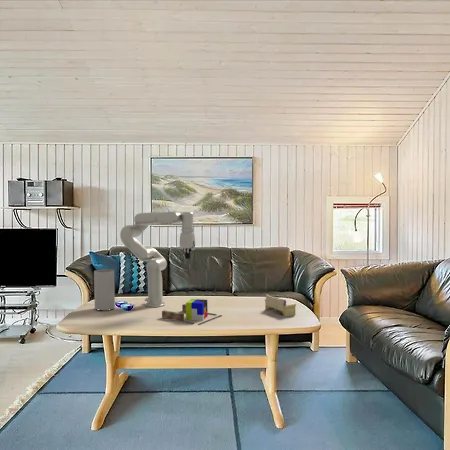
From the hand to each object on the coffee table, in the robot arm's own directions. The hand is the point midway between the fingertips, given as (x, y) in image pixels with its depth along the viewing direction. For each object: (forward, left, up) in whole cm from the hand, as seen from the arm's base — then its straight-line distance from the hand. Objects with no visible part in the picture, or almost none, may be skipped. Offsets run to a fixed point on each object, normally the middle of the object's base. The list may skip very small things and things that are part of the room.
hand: (187, 258), depth 263 cm
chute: (+11, -19, -32) cm, 39 cm away
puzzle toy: (+22, -19, -32) cm, 43 cm away
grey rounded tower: (-43, -32, -32) cm, 63 cm away
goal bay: (+26, -19, -32) cm, 45 cm away
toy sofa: (+58, +18, -32) cm, 68 cm away
